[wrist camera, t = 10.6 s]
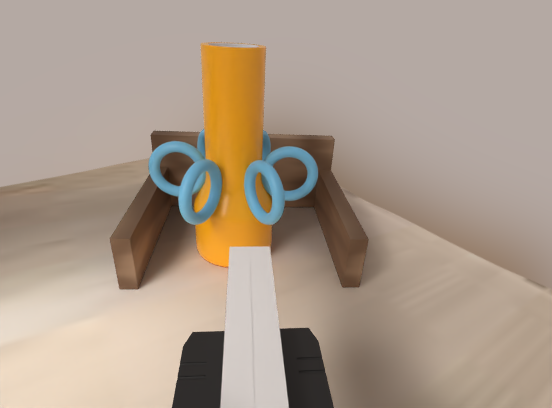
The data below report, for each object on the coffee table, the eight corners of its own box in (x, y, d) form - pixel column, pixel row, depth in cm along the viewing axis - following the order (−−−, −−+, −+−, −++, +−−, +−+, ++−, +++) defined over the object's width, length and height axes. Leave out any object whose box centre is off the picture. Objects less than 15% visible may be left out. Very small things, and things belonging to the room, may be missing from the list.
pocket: (119, 289, 24) (101, 195, 21) (161, 199, 36) (153, 130, 32) (359, 287, 25) (376, 198, 22) (323, 201, 37) (332, 135, 34)
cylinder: (146, 228, 31) (120, 36, 24) (251, 202, 36) (254, 39, 29) (205, 319, 22) (190, 56, 15) (332, 267, 27) (364, 54, 20)
